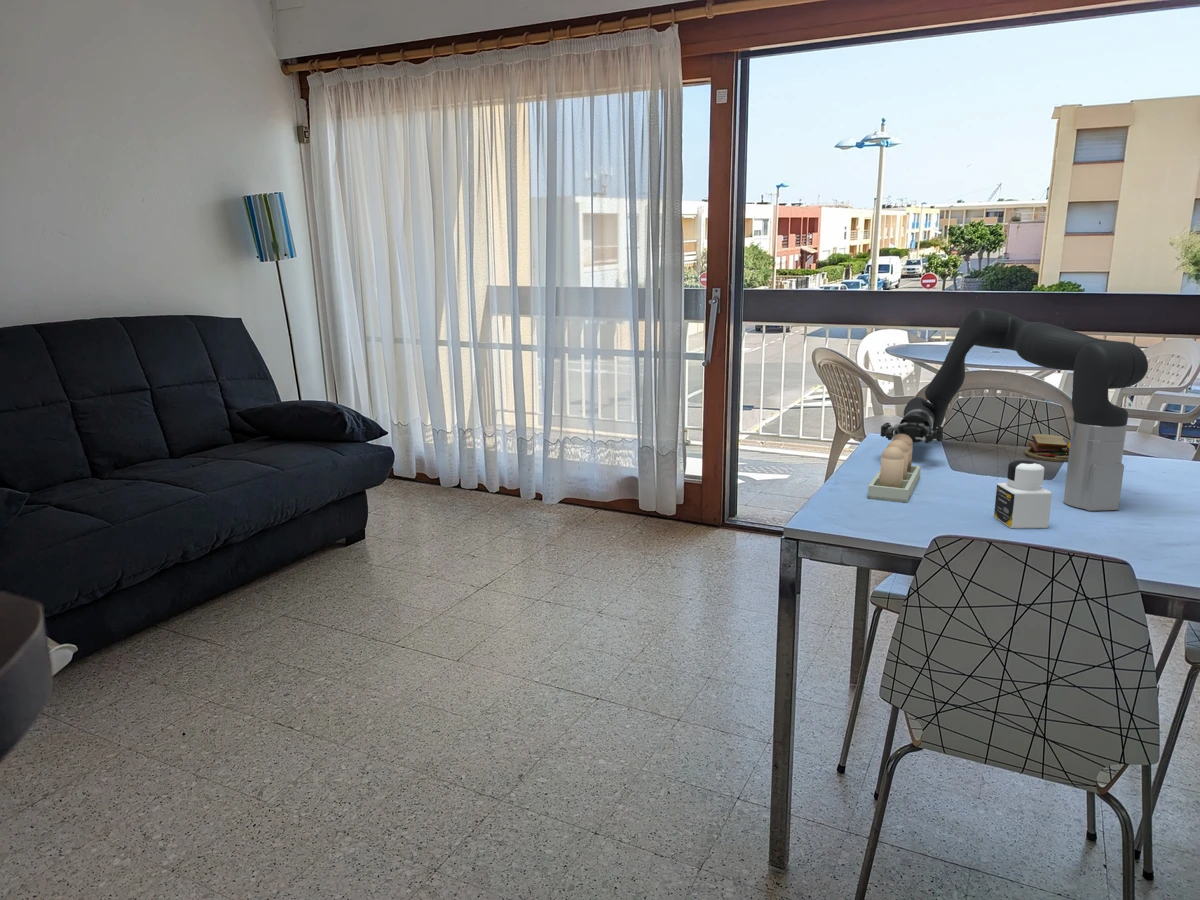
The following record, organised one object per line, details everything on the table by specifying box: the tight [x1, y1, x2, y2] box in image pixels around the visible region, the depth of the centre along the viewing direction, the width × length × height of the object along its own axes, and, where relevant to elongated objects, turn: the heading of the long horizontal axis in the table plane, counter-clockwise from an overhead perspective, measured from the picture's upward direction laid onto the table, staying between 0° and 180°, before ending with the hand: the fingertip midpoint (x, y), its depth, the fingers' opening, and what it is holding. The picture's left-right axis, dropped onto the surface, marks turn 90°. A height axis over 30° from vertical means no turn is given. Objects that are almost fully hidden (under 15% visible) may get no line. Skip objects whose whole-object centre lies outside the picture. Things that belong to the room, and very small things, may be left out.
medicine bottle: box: [993, 459, 1053, 529], centre depth 151 cm, size 7×7×12 cm
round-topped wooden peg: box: [891, 434, 914, 473], centre depth 182 cm, size 5×5×10 cm
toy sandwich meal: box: [1024, 433, 1070, 462], centre depth 202 cm, size 12×14×5 cm
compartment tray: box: [867, 440, 922, 504], centre depth 176 cm, size 22×8×11 cm, turn 152°
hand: (908, 437), depth 191 cm, fingers open, 8 cm apart
